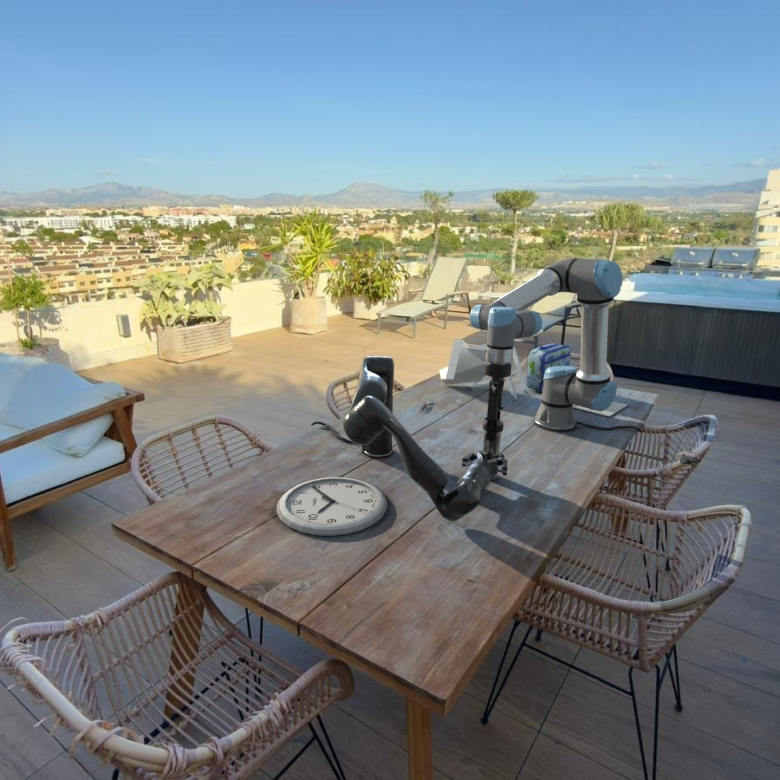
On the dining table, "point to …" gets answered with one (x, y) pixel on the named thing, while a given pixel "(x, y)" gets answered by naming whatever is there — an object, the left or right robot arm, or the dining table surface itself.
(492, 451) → the thermos
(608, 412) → the invitation card
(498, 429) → the lid
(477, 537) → the dining table surface
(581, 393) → the right robot arm
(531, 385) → the lunch box
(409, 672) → the dining table surface
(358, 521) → the wall clock
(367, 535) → the dining table surface
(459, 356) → the white plastic object
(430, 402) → the fork
